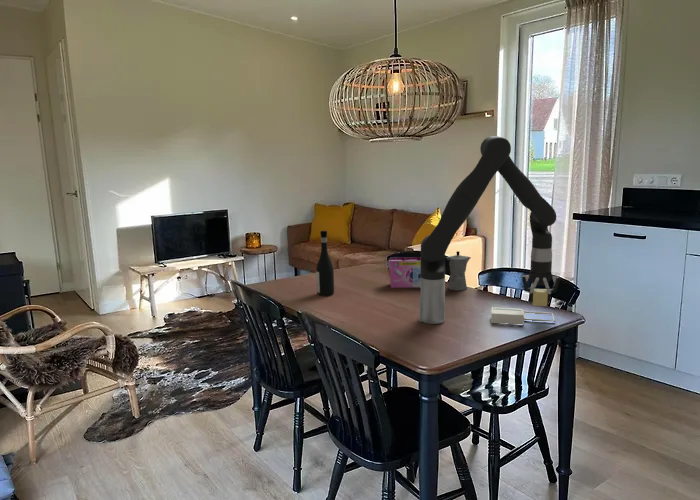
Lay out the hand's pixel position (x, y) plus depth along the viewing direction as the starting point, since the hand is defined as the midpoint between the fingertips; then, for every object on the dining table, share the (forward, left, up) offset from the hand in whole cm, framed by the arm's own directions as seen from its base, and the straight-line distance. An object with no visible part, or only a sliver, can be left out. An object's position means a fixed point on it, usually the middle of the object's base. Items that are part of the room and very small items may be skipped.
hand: (539, 302), depth 196 cm
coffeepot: (-35, +40, -7) cm, 53 cm away
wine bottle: (-93, +18, -7) cm, 95 cm away
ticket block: (-12, -6, -7) cm, 15 cm away
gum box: (-55, +41, -7) cm, 69 cm away
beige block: (0, 0, 0) cm, 0 cm away
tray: (0, 0, -7) cm, 7 cm away
